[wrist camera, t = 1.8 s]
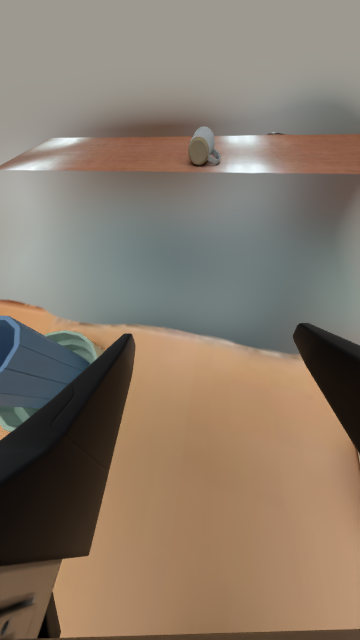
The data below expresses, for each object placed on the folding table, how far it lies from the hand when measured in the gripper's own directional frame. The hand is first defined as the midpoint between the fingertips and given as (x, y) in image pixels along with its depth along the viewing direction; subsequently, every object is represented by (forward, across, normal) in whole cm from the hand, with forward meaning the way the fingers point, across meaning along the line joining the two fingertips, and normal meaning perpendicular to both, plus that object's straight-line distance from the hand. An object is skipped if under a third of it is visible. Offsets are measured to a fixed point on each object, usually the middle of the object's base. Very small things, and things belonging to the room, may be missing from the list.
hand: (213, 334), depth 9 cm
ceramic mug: (+74, -9, -15) cm, 76 cm away
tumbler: (+7, +17, +13) cm, 23 cm away
